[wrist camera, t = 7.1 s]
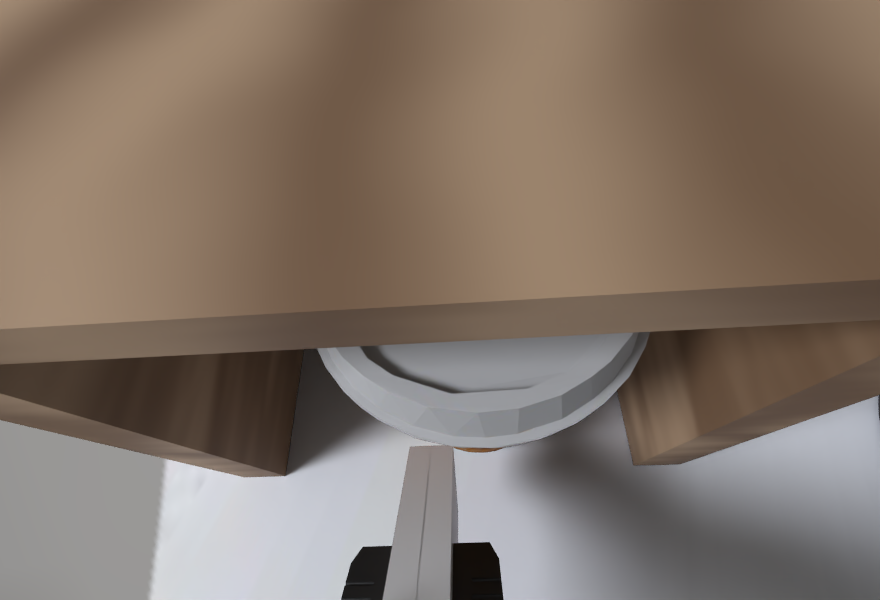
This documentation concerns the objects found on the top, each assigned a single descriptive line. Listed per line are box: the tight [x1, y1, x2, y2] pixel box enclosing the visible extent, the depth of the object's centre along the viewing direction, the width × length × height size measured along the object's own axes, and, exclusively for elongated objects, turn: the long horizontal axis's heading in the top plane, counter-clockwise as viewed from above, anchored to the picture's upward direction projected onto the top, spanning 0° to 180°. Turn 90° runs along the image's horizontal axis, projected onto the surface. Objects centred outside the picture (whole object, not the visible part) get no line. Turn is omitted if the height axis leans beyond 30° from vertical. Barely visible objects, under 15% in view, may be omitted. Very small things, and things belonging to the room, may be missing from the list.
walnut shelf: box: [0, 0, 880, 477], centre depth 15 cm, size 20×11×16 cm, turn 91°
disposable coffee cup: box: [317, 332, 650, 452], centre depth 16 cm, size 10×10×12 cm
